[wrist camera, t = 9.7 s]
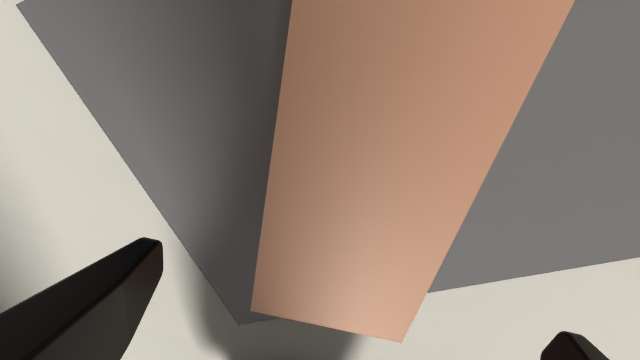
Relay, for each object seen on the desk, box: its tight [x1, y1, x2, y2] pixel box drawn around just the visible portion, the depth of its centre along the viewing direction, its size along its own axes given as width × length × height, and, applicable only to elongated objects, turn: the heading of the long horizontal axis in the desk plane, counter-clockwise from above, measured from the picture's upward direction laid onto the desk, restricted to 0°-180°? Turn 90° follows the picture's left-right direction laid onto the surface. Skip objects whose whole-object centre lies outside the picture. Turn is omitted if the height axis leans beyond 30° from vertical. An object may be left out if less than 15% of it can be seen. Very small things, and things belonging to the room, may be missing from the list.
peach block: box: [250, 0, 575, 343], centre depth 11 cm, size 5×5×13 cm
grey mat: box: [16, 0, 640, 325], centre depth 14 cm, size 20×17×1 cm
